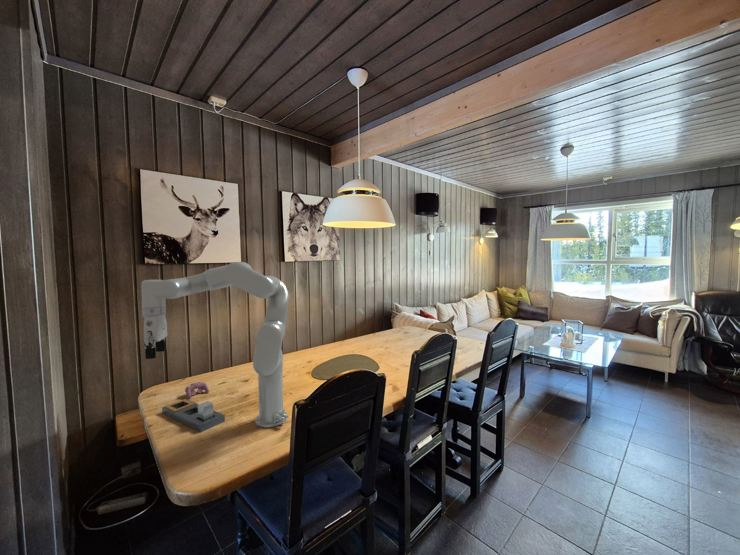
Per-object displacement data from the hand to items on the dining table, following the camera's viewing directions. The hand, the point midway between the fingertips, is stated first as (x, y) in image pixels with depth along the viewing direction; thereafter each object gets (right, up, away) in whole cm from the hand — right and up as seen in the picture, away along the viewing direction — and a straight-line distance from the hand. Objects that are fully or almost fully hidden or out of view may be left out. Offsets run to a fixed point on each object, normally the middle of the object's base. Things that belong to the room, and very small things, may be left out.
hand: (156, 354), depth 120 cm
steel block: (+17, -29, +5) cm, 34 cm away
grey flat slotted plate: (+8, -29, +11) cm, 32 cm away
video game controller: (-2, -29, +33) cm, 44 cm away
